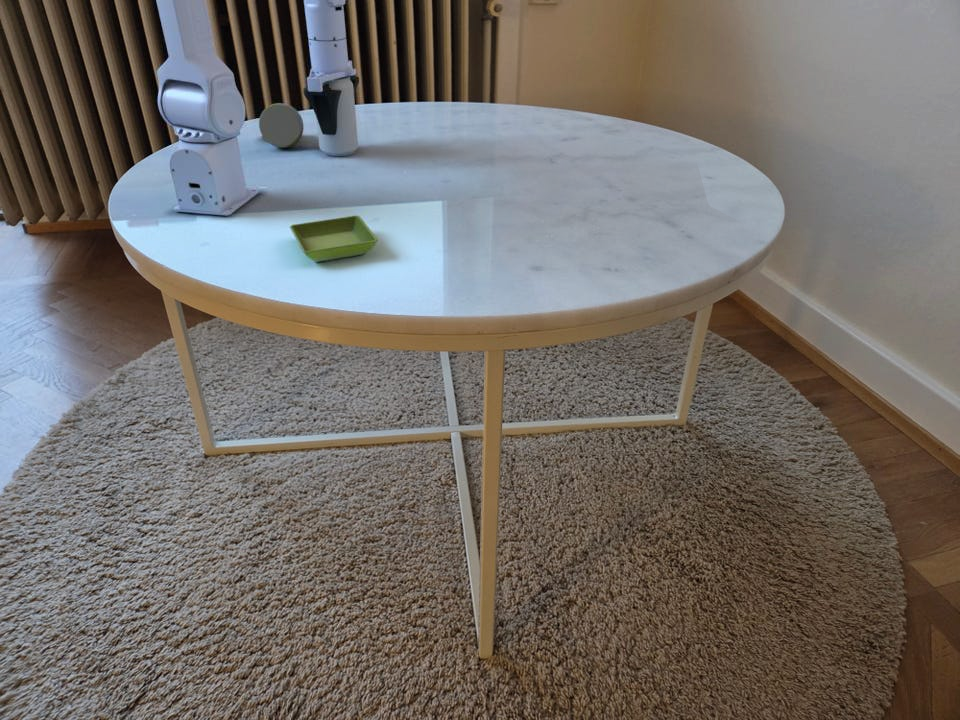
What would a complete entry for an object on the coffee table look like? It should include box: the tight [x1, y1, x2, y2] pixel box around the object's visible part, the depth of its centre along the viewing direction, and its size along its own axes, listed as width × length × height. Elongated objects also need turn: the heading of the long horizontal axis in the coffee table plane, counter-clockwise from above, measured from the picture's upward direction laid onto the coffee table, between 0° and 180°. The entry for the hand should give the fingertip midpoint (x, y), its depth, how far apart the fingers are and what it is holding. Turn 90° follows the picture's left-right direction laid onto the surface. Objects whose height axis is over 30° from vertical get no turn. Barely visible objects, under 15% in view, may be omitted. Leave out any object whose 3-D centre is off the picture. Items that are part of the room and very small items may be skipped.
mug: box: [258, 102, 305, 149], centre depth 115 cm, size 8×10×10 cm
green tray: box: [289, 215, 378, 263], centre depth 81 cm, size 9×9×2 cm
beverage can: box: [315, 76, 359, 157], centre depth 110 cm, size 6×6×12 cm
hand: (336, 128), depth 111 cm, fingers closed on beverage can, 6 cm apart
